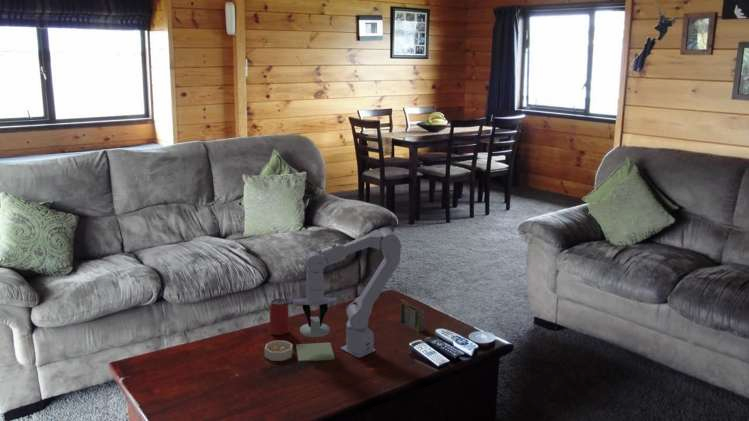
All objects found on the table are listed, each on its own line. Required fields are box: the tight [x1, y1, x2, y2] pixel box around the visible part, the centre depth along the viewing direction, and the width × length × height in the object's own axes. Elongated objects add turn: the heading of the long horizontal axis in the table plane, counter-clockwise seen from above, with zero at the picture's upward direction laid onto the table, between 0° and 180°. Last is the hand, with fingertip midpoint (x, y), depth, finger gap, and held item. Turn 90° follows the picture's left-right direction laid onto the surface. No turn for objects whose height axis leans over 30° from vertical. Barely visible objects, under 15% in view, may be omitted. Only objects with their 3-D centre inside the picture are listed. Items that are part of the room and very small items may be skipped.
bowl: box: [264, 340, 294, 362], centre depth 228 cm, size 9×9×3 cm
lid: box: [299, 316, 331, 338], centre depth 228 cm, size 10×10×4 cm
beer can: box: [269, 298, 289, 337], centre depth 244 cm, size 7×7×12 cm
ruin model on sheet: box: [399, 299, 426, 333], centre depth 253 cm, size 11×3×10 cm, turn 34°
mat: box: [295, 342, 336, 363], centre depth 231 cm, size 12×12×1 cm
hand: (314, 325), depth 228 cm, fingers closed on lid, 3 cm apart
